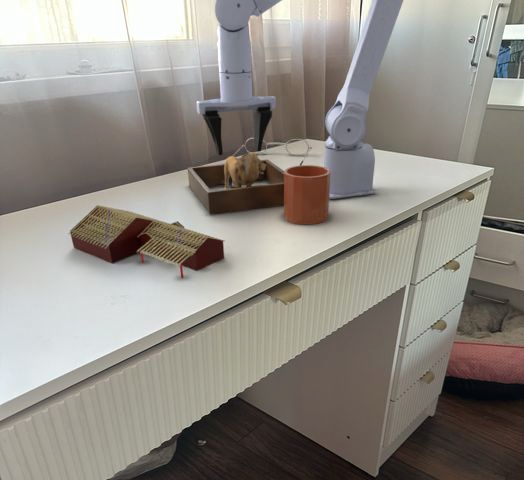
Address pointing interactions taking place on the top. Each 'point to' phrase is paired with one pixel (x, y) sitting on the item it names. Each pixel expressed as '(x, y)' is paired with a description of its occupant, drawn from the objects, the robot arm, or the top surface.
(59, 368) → the top surface
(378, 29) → the robot arm
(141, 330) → the top surface
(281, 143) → the eyeglasses
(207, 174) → the wooden frame
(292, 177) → the cup
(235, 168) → the lion figurine
